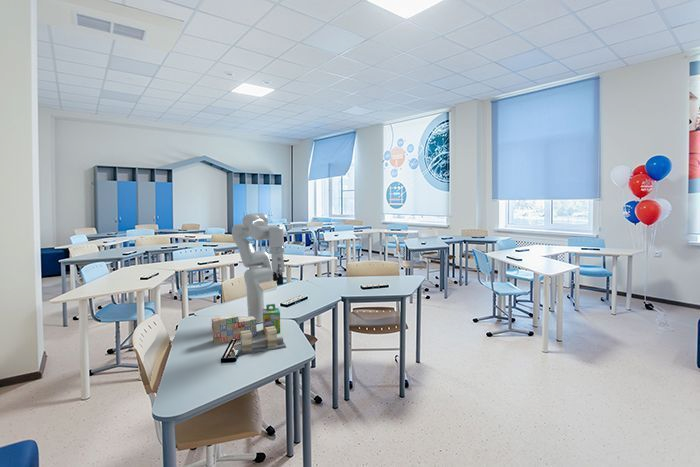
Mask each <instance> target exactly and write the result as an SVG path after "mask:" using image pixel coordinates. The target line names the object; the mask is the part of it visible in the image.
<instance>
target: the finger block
mask: <svg viewBox="0 0 700 467" xmlns="http://www.w3.org/2000/svg"><path fill="white" fill-rule="evenodd" d="M277 334H278V333H277V330H276V328H275V326H272V327H265V334H264V338H265V340H268V347H271V346H277V338H278V337H277V336H278V335H277Z"/></svg>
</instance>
